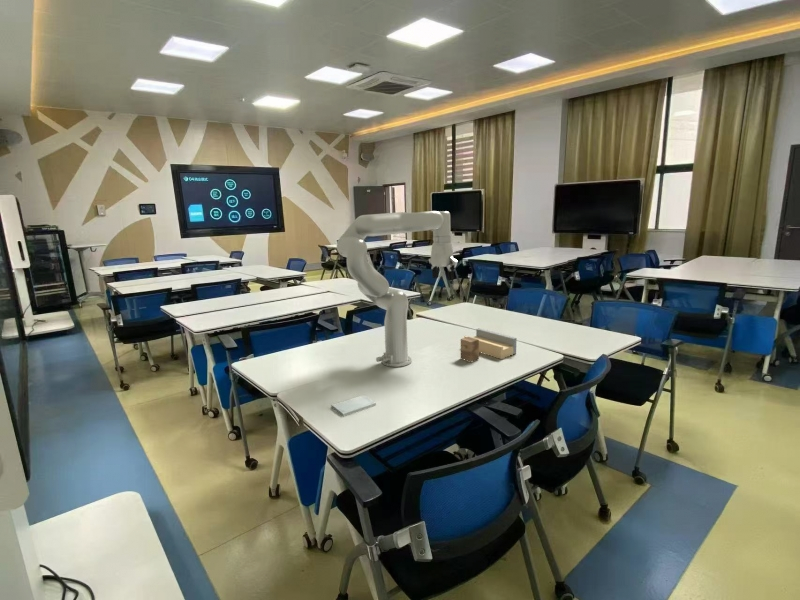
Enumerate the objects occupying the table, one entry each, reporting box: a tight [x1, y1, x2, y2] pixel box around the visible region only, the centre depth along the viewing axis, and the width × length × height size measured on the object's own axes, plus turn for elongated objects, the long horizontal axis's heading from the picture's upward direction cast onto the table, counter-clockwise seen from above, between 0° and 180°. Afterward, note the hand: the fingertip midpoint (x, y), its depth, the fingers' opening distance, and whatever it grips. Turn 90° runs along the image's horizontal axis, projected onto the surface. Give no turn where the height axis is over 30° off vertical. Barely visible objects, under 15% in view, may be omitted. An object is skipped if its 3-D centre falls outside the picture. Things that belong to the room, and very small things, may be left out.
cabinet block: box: [460, 336, 480, 363], centre depth 175 cm, size 6×6×9 cm
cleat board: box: [463, 327, 517, 360], centre depth 186 cm, size 10×22×8 cm, turn 36°
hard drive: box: [330, 394, 377, 417], centre depth 135 cm, size 2×8×12 cm
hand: (443, 278), depth 181 cm, fingers open, 9 cm apart
